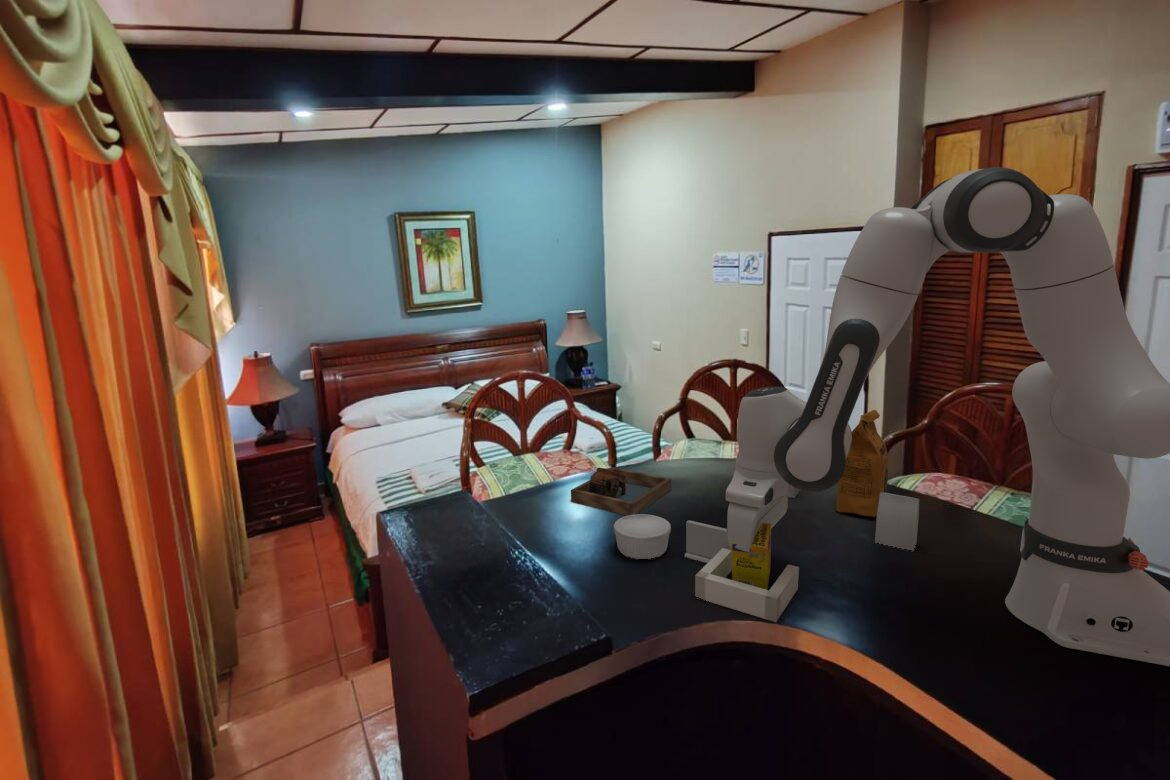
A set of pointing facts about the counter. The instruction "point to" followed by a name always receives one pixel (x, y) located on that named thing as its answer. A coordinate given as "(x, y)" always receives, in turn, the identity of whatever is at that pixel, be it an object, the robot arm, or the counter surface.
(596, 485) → the pottery mug
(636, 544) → the ramekin
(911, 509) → the grey rectangular block
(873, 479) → the coffee package
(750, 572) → the supplement box
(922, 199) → the robot arm
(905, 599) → the counter surface
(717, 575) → the white handled frame
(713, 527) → the plate
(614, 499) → the frame
